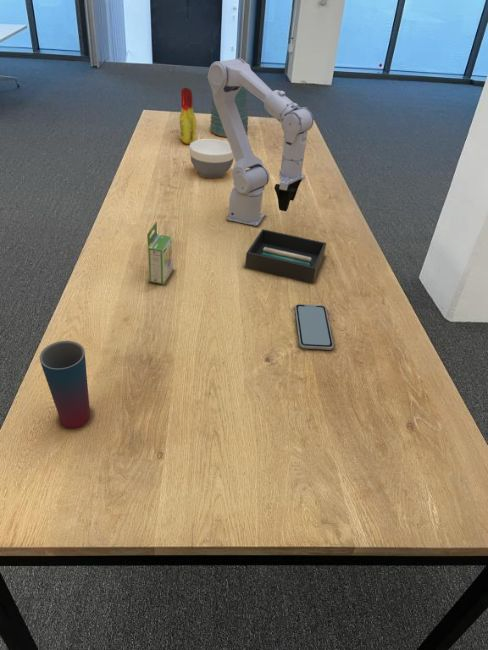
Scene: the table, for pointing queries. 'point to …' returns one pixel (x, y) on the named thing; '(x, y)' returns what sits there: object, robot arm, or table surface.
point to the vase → (242, 108)
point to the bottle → (187, 117)
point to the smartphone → (313, 327)
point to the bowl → (211, 157)
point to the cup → (67, 381)
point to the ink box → (159, 256)
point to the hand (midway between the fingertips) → (286, 204)
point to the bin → (288, 245)
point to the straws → (286, 256)
